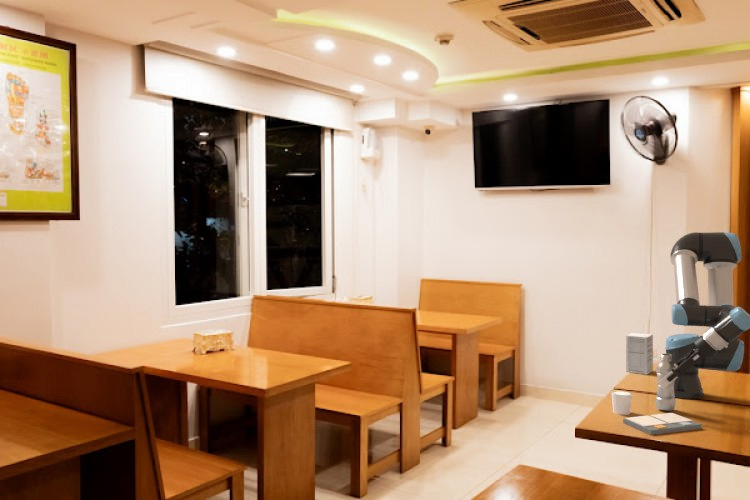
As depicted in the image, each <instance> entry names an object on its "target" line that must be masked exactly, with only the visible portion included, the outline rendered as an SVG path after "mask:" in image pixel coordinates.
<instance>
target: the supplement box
mask: <svg viewBox="0 0 750 500" xmlns="http://www.w3.org/2000/svg"><path fill="white" fill-rule="evenodd" d="M625 337H626V338H625V372H626V373H631V374H638V375H639V374H640V375H649V374H651V373H652V372H654V355H653V354H654V335H653V334H652V333H641V332H640V333H639V332H637V333H636V332H631V333H629V334H626V336H625ZM631 371H632V372H631Z"/></svg>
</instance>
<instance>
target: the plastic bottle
mask: <svg viewBox="0 0 750 500" xmlns="http://www.w3.org/2000/svg"><path fill="white" fill-rule="evenodd" d="M659 359H660V362H659V363H658V364H657V366H656V369H655V370H656V379H657V391H656V395H655V396H656V397H655V406H656V409H657V410H660V411H663V412H664V411H665V412H667V411H668V412H670V411H674V410H675V408H676V403H677V402H676V397H675V396H674V383H675V380H674V381H673V382H672V383H670V384H669V385H668V386H667V387H665V388H664V389H663V388H662V387H661V386H660V385H659V384H658V382H659V381H660V380H661V379H663V378H664V377H665V376H666V375H668V374H669V373H670V372H671V369H674V370H675V369H676V367H675V366H674V364H673V363H672V362H671V361H672V355H671V354H666V353H661V354H660V358H659Z"/></svg>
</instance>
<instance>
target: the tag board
mask: <svg viewBox="0 0 750 500" xmlns="http://www.w3.org/2000/svg"><path fill="white" fill-rule="evenodd" d="M622 420H623V421H622V423H623V424H625V425H627V426H630V427H632V428H634V429H636V430H639V431H641V432H643V433H645V434H647V435H649V436H655V434H656V435H663V434H670V433H677V432H685V431H687V432H688V431H696V430H702V428H703V426H702V425H703V424H702V423H699V422H697V421H694V420H692V419H690V418H687V417H685V416H681V415H679V414H676V413H673V412H666V413H657V414H650V415H639V416H631V417H629V416H628V417H624V418H622Z"/></svg>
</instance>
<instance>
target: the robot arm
mask: <svg viewBox="0 0 750 500" xmlns="http://www.w3.org/2000/svg"><path fill="white" fill-rule="evenodd" d="M741 261H742V248H741V242H740V238H739V236H738V235H737V234H736V233H734V232H724V231H722V232H719V231H718V232H717V231H716V232H715V231H714V232H696V231H695V232H690V233H687V234H685V235H683V236H681V237H680V238H678V240H677V241H676V242H675V243H674V244H673V246H672V249H671V252H670V262H671V264H672V265H673V269H674V271H673V272H674V282H675V283H674V284H675V286H674V287H675V295H676V296H675V297H676V299H675V300H676V304H673V305H672V307H671V323H672V324H673V325H676V326H684V327H687V326H688V327H689V326H690V327H708V329H707V330H706V331H705V332H703V333H702V335H700V336H699V334H697V333H679V334H673V335H669V336H668V337H666V341H665V347H664V349H665V354H671V355H672V361H671V362H672V363H673V364H674V366H675V367H676V369H675V370H674V369H671V372H670V373H669V374H668V375H666V376H665V377H664V378H663V379H661V380H660V381H659V382H658V381H657V385H658V384H659V385H660V386H661V387H662V388H663V389H664V388H665V387H667V386H668V385H669V384H670V383H672V382H673V381H674V380H675V383H674V396H675V397H674V398H678V399H686V400H687V399H693V400H694V399H701V398H703V397H704V389H703V387H702V383H701V380H700V377H699V369H700V370H701V369H702V370H715V371H725V372H726V371H727V372H729V371H732V372H735V371H738V370H740V368H741V367H742V363H743V361H744V360H743V359H744V355H745V343H744V340H741V339H740V336H741V335H742V334H743V333H745V332H746V331H748V330H749V329H750V314H749V313H748V312H747V311H746V310H745V309H744V308H742V307H741V306H735V305H734V279H733V277H734V275H733V270H734V269H735V268H737V266H738V264H737V263H741ZM698 262H701V263H702V262H703V264H702V265H703V267H704V268H705V269H706V270H707V288H708V289H707V292H708V295H707V297H708V300H707V301H708V304H707V305H704V304H703V305H701V303H700V297H699V295H700V294H699V286H698V279H697V278H698V277H697V267H696V264H697V263H698Z"/></svg>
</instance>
